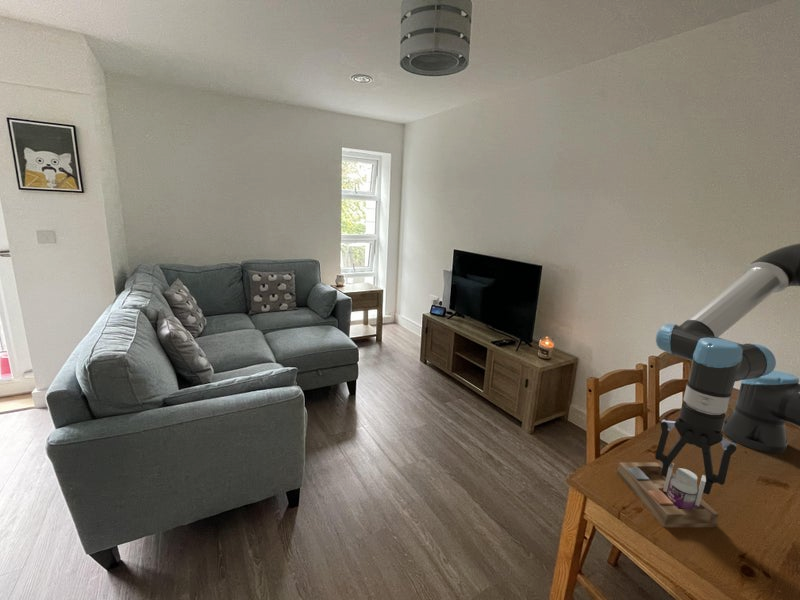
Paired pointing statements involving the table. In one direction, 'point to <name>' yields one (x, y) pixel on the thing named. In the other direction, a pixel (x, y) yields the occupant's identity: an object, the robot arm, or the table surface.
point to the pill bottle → (683, 489)
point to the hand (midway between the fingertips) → (681, 495)
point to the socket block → (663, 496)
